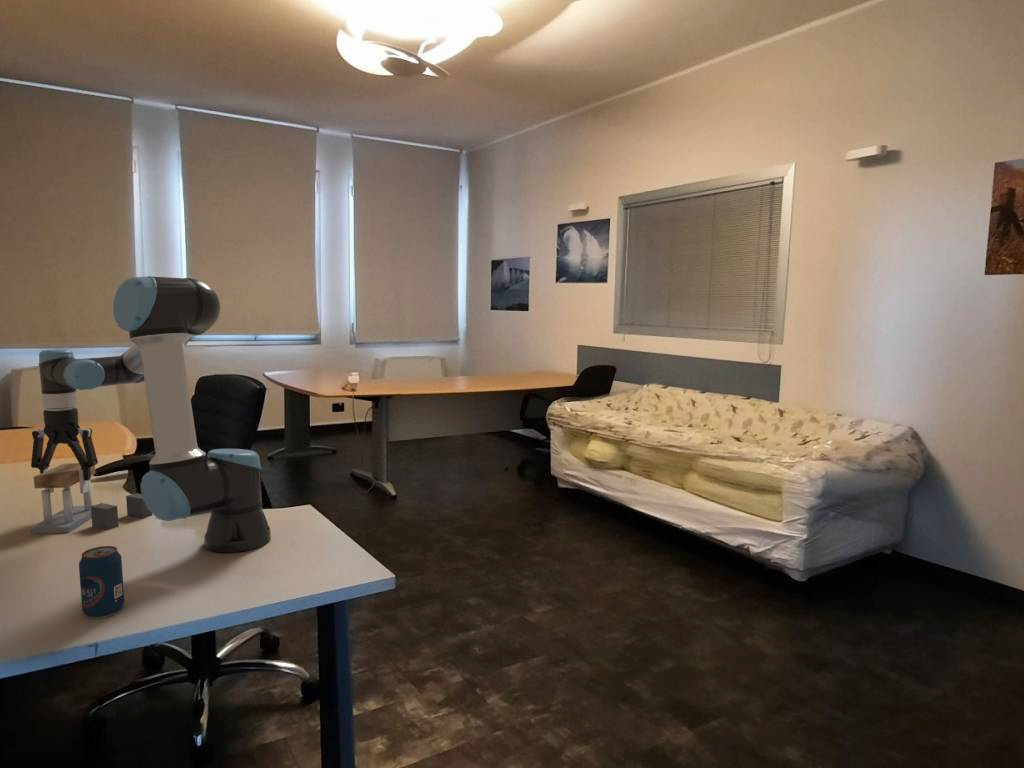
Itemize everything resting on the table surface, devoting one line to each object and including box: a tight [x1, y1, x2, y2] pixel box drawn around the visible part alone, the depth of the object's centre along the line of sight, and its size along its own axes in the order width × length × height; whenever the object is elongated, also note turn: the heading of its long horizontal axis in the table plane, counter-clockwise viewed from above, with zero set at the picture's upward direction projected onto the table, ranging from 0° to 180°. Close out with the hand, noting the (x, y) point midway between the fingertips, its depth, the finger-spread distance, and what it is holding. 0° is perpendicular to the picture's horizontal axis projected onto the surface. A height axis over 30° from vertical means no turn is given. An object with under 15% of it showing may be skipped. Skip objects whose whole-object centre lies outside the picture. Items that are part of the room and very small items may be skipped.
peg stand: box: [30, 479, 93, 535], centre depth 179 cm, size 9×18×10 cm, turn 7°
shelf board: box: [33, 462, 96, 489], centre depth 178 cm, size 8×14×3 cm, turn 6°
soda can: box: [78, 545, 125, 619], centre depth 128 cm, size 7×7×12 cm
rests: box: [91, 492, 153, 531], centre depth 180 cm, size 6×13×6 cm, turn 156°
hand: (67, 492), depth 178 cm, fingers closed on shelf board, 8 cm apart
